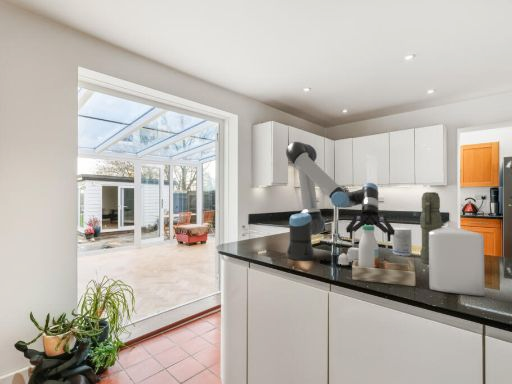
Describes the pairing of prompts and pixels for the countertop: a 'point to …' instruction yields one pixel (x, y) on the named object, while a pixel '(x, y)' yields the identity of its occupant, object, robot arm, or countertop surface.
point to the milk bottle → (368, 248)
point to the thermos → (429, 221)
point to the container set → (348, 256)
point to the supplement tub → (402, 242)
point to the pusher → (386, 262)
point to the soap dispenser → (456, 261)
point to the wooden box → (386, 273)
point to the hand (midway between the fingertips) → (369, 245)
